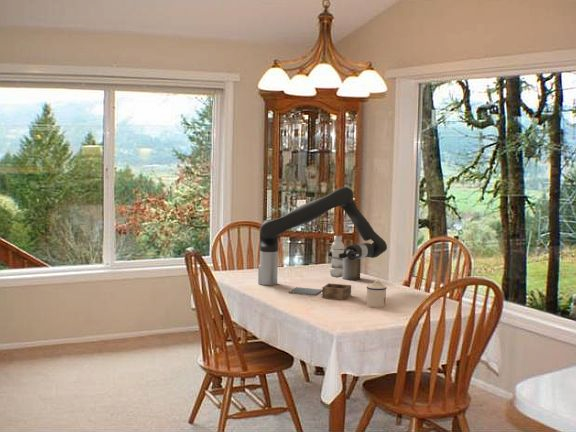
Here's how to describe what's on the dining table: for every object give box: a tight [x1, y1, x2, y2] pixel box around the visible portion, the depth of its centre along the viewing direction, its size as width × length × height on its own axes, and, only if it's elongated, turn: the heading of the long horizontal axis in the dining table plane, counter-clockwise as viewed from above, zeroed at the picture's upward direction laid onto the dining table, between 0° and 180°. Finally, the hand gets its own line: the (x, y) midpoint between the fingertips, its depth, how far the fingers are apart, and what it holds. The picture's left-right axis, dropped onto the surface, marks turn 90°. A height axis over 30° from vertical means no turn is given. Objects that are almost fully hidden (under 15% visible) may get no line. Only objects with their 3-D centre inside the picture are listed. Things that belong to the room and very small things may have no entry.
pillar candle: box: [342, 258, 361, 281], centre depth 388 cm, size 10×10×15 cm
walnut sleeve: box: [321, 282, 352, 301], centre depth 343 cm, size 11×10×5 cm
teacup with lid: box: [366, 279, 388, 309], centre depth 326 cm, size 12×9×12 cm
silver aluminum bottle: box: [329, 235, 346, 279], centre depth 341 cm, size 6×7×20 cm
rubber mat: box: [287, 286, 322, 296], centre depth 352 cm, size 14×12×1 cm
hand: (334, 255), depth 339 cm, fingers closed on silver aluminum bottle, 6 cm apart
